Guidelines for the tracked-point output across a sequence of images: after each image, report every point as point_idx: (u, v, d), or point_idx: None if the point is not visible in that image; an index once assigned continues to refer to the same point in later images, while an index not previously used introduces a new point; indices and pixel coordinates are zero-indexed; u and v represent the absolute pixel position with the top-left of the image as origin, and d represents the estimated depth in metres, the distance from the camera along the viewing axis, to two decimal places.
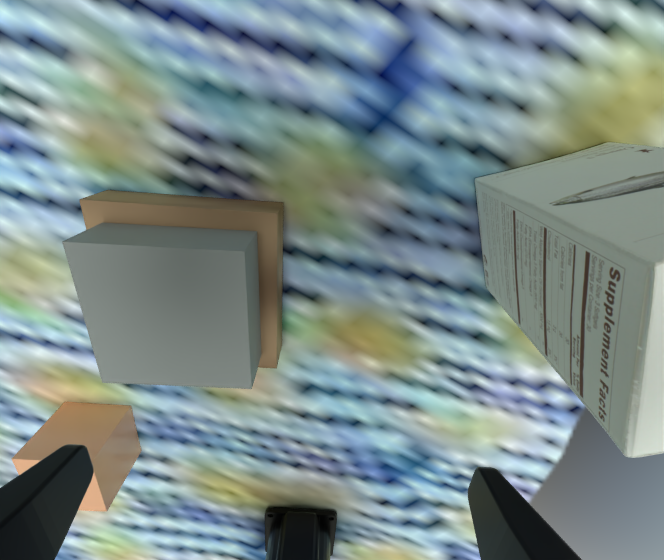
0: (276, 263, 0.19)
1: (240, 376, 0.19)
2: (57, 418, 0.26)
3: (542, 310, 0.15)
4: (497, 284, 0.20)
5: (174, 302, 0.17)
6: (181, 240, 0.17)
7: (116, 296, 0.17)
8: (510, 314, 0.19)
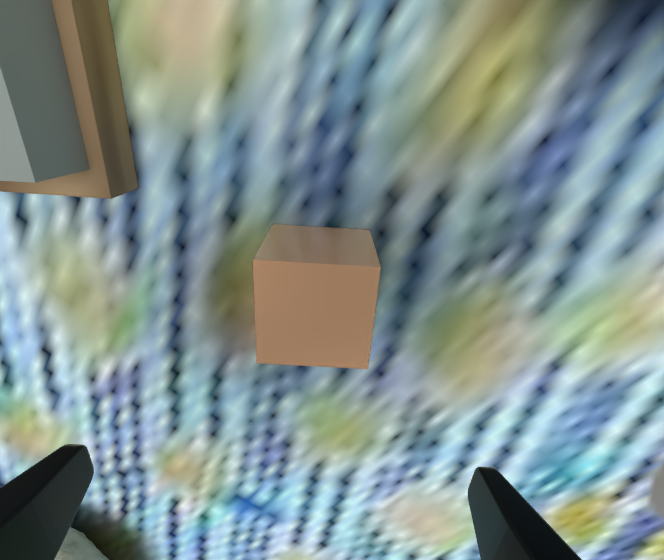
0: None
1: None
2: None
3: None
4: None
5: None
6: None
7: None
8: None
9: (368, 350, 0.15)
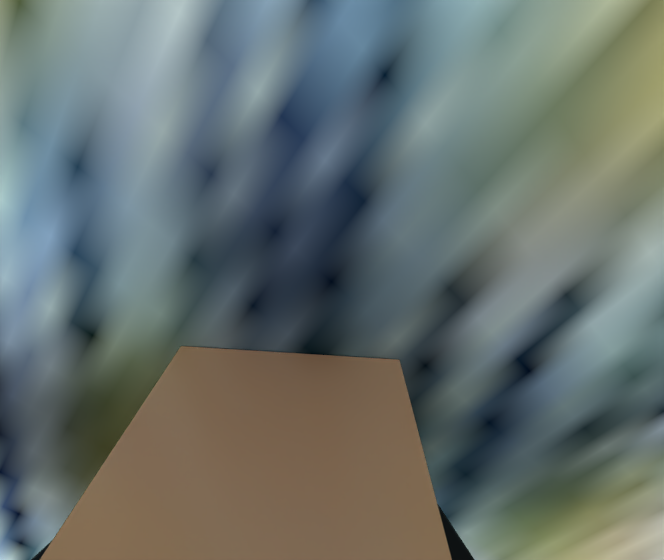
0: None
1: None
2: None
3: None
4: None
5: None
6: None
7: None
8: None
9: None
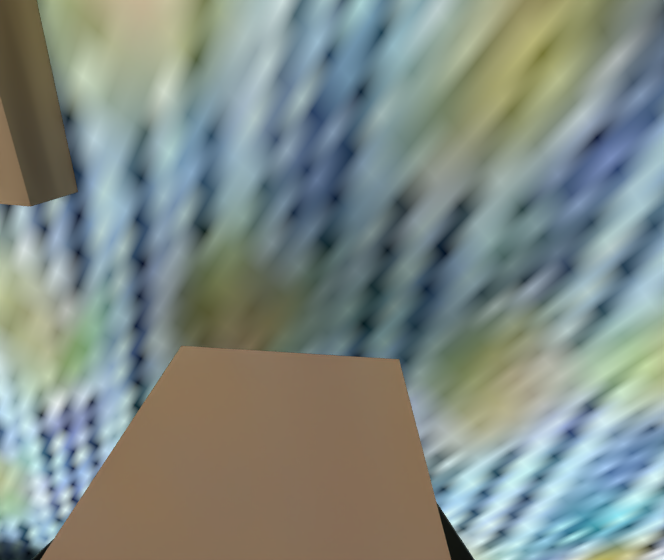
0: None
1: None
2: None
3: None
4: None
5: None
6: None
7: None
8: None
9: None
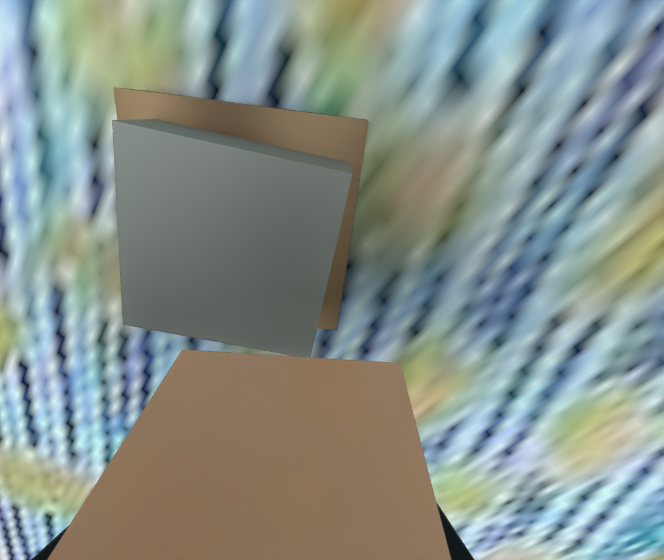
0: (186, 98, 0.14)
1: (325, 185, 0.12)
2: None
3: None
4: None
5: (194, 237, 0.13)
6: None
7: (187, 299, 0.14)
8: None
9: None
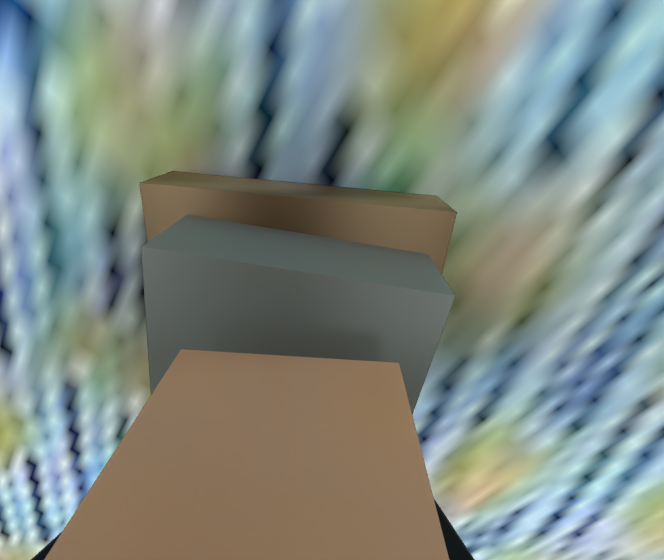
0: (231, 192, 0.11)
1: (418, 309, 0.09)
2: None
3: None
4: None
5: None
6: None
7: None
8: None
9: None
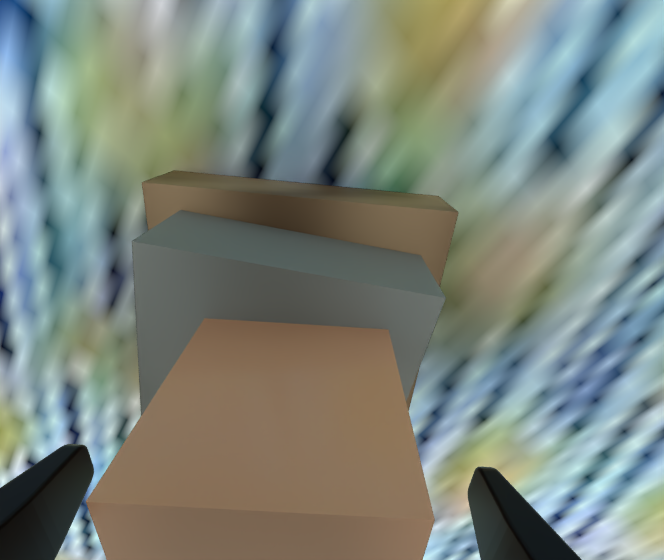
0: (233, 191, 0.11)
1: (409, 310, 0.09)
2: None
3: None
4: None
5: None
6: None
7: None
8: None
9: None
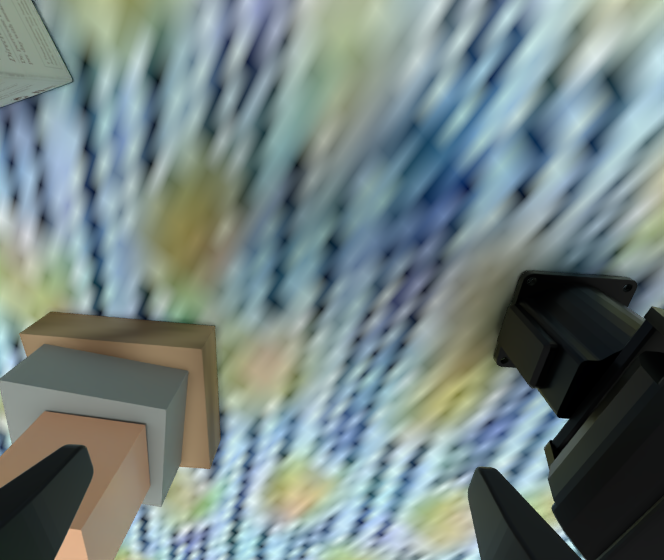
0: (72, 337, 0.20)
1: (149, 414, 0.18)
2: None
3: None
4: (7, 91, 0.14)
5: None
6: None
7: None
8: None
9: None
